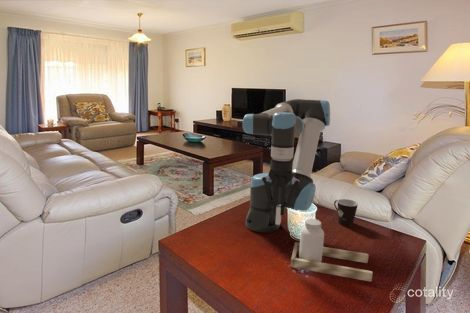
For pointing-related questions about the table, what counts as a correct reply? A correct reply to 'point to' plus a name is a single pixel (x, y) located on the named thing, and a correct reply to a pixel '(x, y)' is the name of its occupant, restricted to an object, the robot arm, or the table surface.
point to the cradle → (332, 268)
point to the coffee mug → (346, 211)
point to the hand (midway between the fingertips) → (278, 223)
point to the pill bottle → (311, 241)
